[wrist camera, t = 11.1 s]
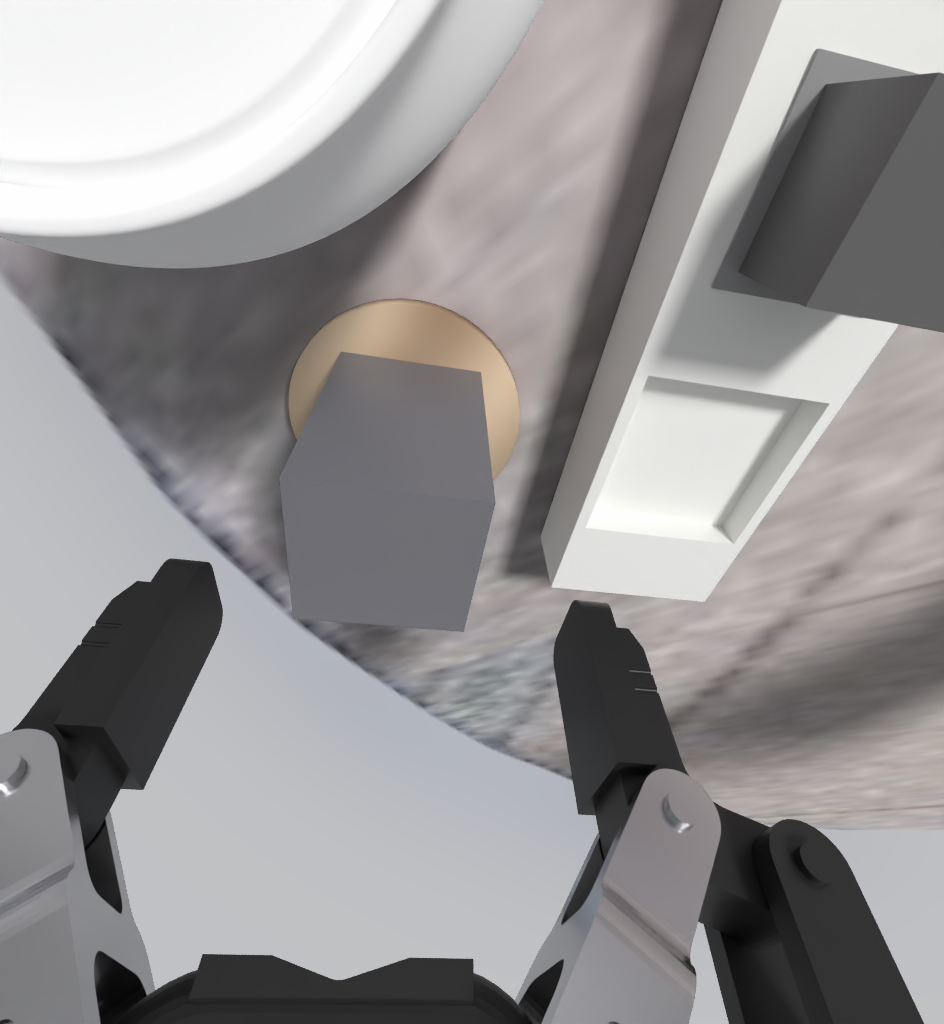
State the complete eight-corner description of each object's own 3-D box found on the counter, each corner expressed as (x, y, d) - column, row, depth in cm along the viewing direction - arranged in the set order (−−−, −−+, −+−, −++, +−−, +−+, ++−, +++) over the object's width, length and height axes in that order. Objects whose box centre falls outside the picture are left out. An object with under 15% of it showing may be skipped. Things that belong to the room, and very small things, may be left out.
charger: (481, 372, 16) (495, 502, 10) (460, 484, 19) (462, 633, 13) (341, 351, 15) (278, 478, 10) (341, 470, 18) (293, 620, 13)
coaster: (543, 320, 15) (546, 327, 15) (494, 513, 20) (495, 522, 20) (284, 278, 14) (279, 283, 14) (299, 491, 19) (295, 500, 19)
